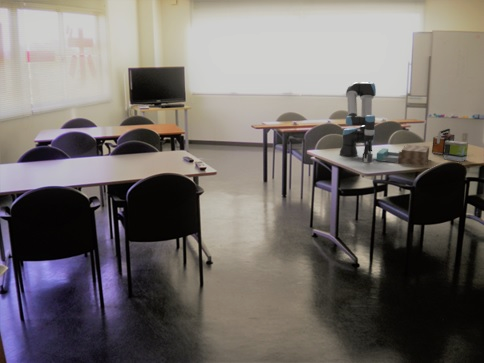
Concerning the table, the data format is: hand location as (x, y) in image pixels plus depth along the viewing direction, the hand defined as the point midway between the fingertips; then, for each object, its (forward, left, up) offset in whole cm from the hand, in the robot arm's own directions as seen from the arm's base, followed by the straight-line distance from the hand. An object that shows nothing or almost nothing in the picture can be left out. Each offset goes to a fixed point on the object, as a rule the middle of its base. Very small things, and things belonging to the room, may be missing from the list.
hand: (367, 160), depth 405 cm
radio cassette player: (+52, +70, -1) cm, 87 cm away
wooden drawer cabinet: (+34, +16, 0) cm, 38 cm away
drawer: (+18, +16, 0) cm, 24 cm away
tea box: (+64, +40, 0) cm, 76 cm away
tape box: (0, 0, 0) cm, 0 cm away
